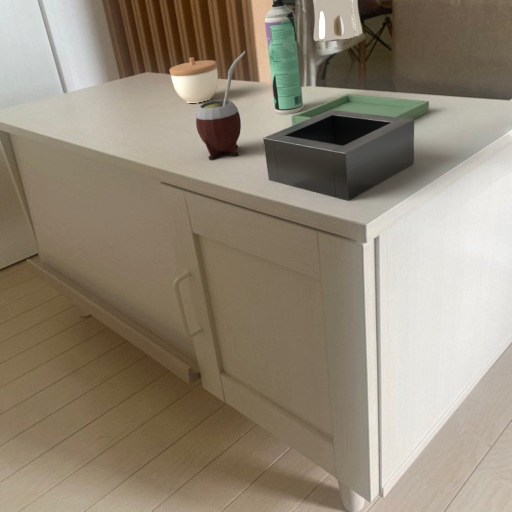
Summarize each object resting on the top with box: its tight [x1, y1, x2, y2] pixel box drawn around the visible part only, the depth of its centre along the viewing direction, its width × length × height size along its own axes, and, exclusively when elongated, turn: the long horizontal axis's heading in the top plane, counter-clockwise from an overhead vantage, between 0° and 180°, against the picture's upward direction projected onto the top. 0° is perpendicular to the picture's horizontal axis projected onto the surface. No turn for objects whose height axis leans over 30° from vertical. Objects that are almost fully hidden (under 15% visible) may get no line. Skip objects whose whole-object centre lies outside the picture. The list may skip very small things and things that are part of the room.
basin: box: [262, 110, 415, 202], centre depth 72 cm, size 14×14×6 cm
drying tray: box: [290, 93, 430, 126], centre depth 94 cm, size 18×16×2 cm
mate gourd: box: [195, 50, 246, 161], centre depth 84 cm, size 8×8×15 cm
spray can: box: [264, 0, 304, 115], centre depth 101 cm, size 6×6×20 cm
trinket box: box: [169, 56, 219, 104], centre depth 122 cm, size 11×11×9 cm
